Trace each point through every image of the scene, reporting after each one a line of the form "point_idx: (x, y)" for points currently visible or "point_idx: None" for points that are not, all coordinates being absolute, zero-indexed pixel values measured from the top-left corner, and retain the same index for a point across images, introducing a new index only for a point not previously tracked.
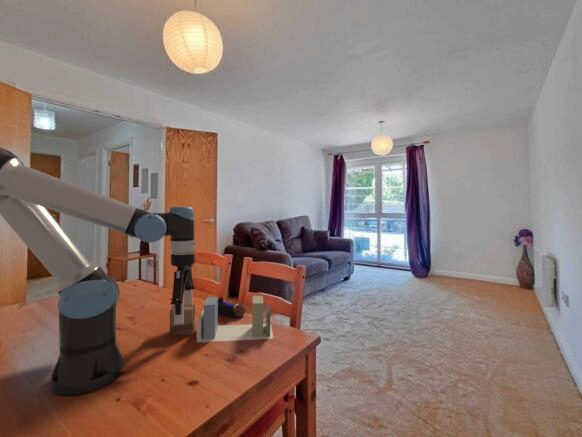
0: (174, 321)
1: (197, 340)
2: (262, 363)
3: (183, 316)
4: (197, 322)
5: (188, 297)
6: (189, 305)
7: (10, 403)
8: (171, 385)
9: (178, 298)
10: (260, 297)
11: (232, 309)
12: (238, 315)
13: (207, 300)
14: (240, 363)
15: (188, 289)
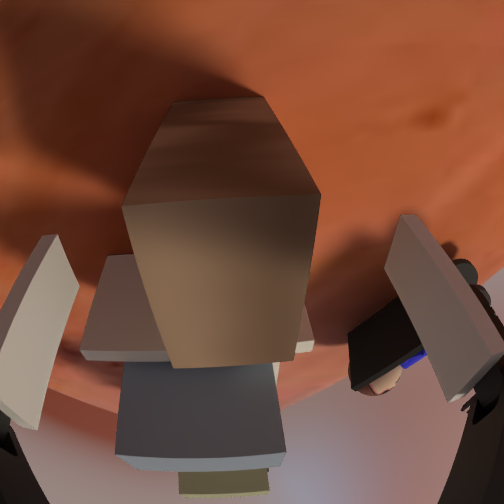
0: (32, 254)
1: (101, 280)
2: (75, 386)
3: (58, 327)
4: (90, 352)
5: (436, 322)
6: (279, 338)
7: None
8: None
9: None
10: (247, 495)
11: (351, 379)
12: (349, 362)
13: (209, 460)
14: (58, 360)
15: (485, 384)
